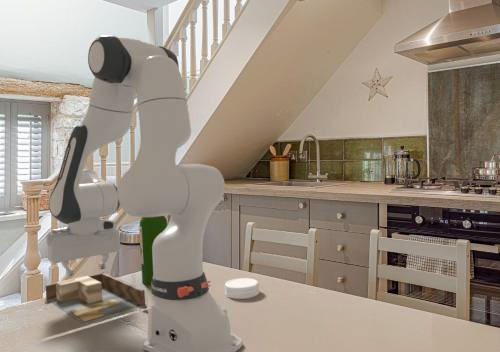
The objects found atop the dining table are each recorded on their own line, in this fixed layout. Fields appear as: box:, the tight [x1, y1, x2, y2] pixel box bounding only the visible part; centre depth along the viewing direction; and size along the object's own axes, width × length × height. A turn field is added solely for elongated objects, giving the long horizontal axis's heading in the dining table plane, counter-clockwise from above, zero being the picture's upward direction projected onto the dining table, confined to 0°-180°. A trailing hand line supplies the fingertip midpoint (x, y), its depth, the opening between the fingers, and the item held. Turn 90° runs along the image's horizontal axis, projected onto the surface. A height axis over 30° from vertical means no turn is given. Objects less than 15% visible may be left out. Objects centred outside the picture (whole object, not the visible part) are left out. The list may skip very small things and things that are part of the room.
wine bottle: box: [138, 216, 169, 286], centre depth 138 cm, size 9×9×32 cm
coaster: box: [224, 277, 260, 300], centre depth 125 cm, size 10×10×4 cm
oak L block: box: [55, 275, 102, 303], centre depth 124 cm, size 11×9×5 cm
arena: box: [45, 272, 146, 324], centre depth 122 cm, size 27×18×5 cm, turn 42°
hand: (86, 272), depth 125 cm, fingers open, 8 cm apart
